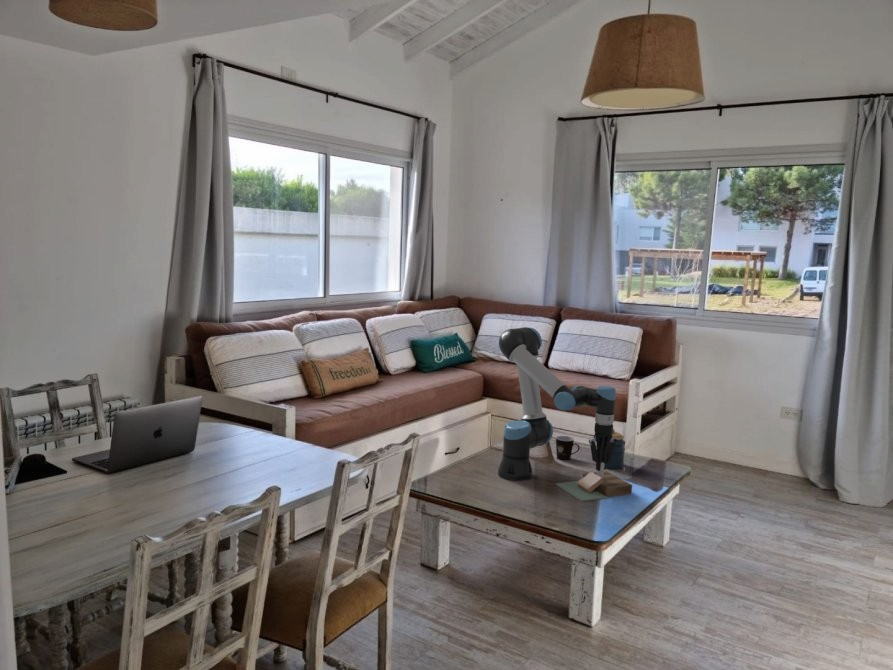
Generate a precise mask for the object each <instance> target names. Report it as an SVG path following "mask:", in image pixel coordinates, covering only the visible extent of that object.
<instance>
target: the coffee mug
mask: <svg viewBox="0 0 893 670" xmlns="http://www.w3.org/2000/svg"><path fill="white" fill-rule="evenodd" d="M574 440H575V439H574V437H572V436H568V435H567V436H566V435H557V436H556V437H555V448H556V449H555V450H556V459H557V460H558V459H559V461H562V460H568V461H570V460H571V458H572V455H573V454H576V453H578V452H579V450H581V449H580V445H579V444H578V443H576V442H575V441H574ZM574 442H575V443H574ZM574 445H576V447H577V448H578V449H577V450H575V451H574V452H572V451H573V447H574Z"/></svg>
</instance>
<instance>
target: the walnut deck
mask: <svg viewBox="0 0 893 670" xmlns="http://www.w3.org/2000/svg"><path fill="white" fill-rule="evenodd" d="M589 473H590V472H586V473H585V472H584V473H583V474H582V478H583V477H585V476H586V475H587V474H589ZM593 473H594V474H596V475H597V471H596V472H593ZM603 481H604V482H602V483H601V484H600V485H599V486H598V487H596V488H595V489H594V490H596V491H598V492H599V493H601V494H603V495H604V496H606V497H607V498H612V497H621V496H628V495H632V493H633V492H632V491H633V484H631V483H630V482H629V481H625V480H624V479H622V478H620V477H618V476H616V475H614V474H612V473H611V472H609V471H606V470H604V476H603Z"/></svg>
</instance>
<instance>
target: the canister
mask: <svg viewBox="0 0 893 670" xmlns="http://www.w3.org/2000/svg"><path fill="white" fill-rule="evenodd" d="M612 437H613V438H615V439H617V441H616V443H615V445H614V448H613V452H612V456H611V459H610V461H607V462H608V463H607V464H606V466H605V469H607V470H620V469H621V468H623V467H624V463H625V461H624V460H625V451H626V448H625V444H626V440H624V438H625V436H624V435H623V434H621V433H620V432H617V431H615V429H614V428H613V433H612Z"/></svg>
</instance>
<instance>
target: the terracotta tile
mask: <svg viewBox="0 0 893 670" xmlns="http://www.w3.org/2000/svg"><path fill="white" fill-rule="evenodd" d="M588 473H589V474H587V475H586V476H585V477H583V476H582V478H581V479H580V480H577V481H578V482H577V485H578V486H579V487H580V488H582V489H584V490H585V491H587V492H589V493H590V492H591V491H593V490H594V489H595V488H596V487H598V486H599V485H600V484H601V483H602V482H604V481H603V479H602V478H601V477H600V476H598V475H596V474H594V472H592V471H590V472H588Z"/></svg>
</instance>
